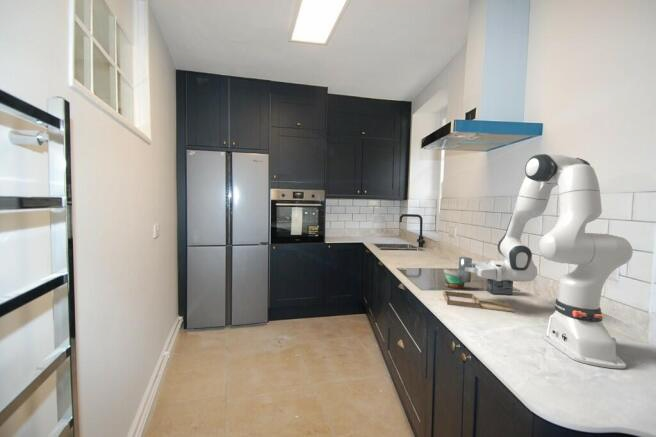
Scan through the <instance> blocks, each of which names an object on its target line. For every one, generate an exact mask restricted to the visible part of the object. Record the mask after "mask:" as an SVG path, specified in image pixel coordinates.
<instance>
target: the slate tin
mask: <svg viewBox="0 0 656 437" xmlns="http://www.w3.org/2000/svg"><path fill="white" fill-rule="evenodd" d="M472 261H473V258H471V257H467V256H459V259H458V269H457V271H458V281H461V282H465V283H471V279H472V278H471V277H472V272H469V271H465V270H464V267H470V268H471V267H472Z"/></svg>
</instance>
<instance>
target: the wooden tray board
mask: <svg viewBox="0 0 656 437" xmlns="http://www.w3.org/2000/svg"><path fill="white" fill-rule="evenodd" d="M442 296H443V297H444V300H445V303H446V305H447V306H448V305H449V306H457V307H466V308H474V309H481V310H491V311H498V312H499V311H500V312H505V313H506V312H507V313H514V312H515V313H516V311H515V310H514V309H513V308H512V307H511V306H510V305H509V304H508V303H507V302H506V301H505V300H499V299H491V298H483V297H476V296H475V294H474V293H468V292H458V291H449V290H443V292H442ZM448 297H457V298H465V299H472V301H473V302H472V301H471V302H470V301H463V300H462V301H461V300H455V299H449V298H448Z"/></svg>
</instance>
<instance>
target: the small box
mask: <svg viewBox="0 0 656 437" xmlns="http://www.w3.org/2000/svg"><path fill="white" fill-rule="evenodd" d="M486 280H487V281H486V282H487V283H486V291H487V293H489V294H490V295H497V296H498V295H500V296H513V287H514V281H511V280H501V281H496V280H494V279H487V278H486Z"/></svg>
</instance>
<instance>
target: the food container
mask: <svg viewBox="0 0 656 437" xmlns="http://www.w3.org/2000/svg"><path fill="white" fill-rule="evenodd" d="M443 273H444V283H445V287H446V288H448V289H451V290H455V291H457V290H459V291H460V290H461V291H462V290H464V287H465V283H466V282H461V281H458V270H456V269H454V270H451V269H450V270H448V269H446V268H444V269H443Z"/></svg>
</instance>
